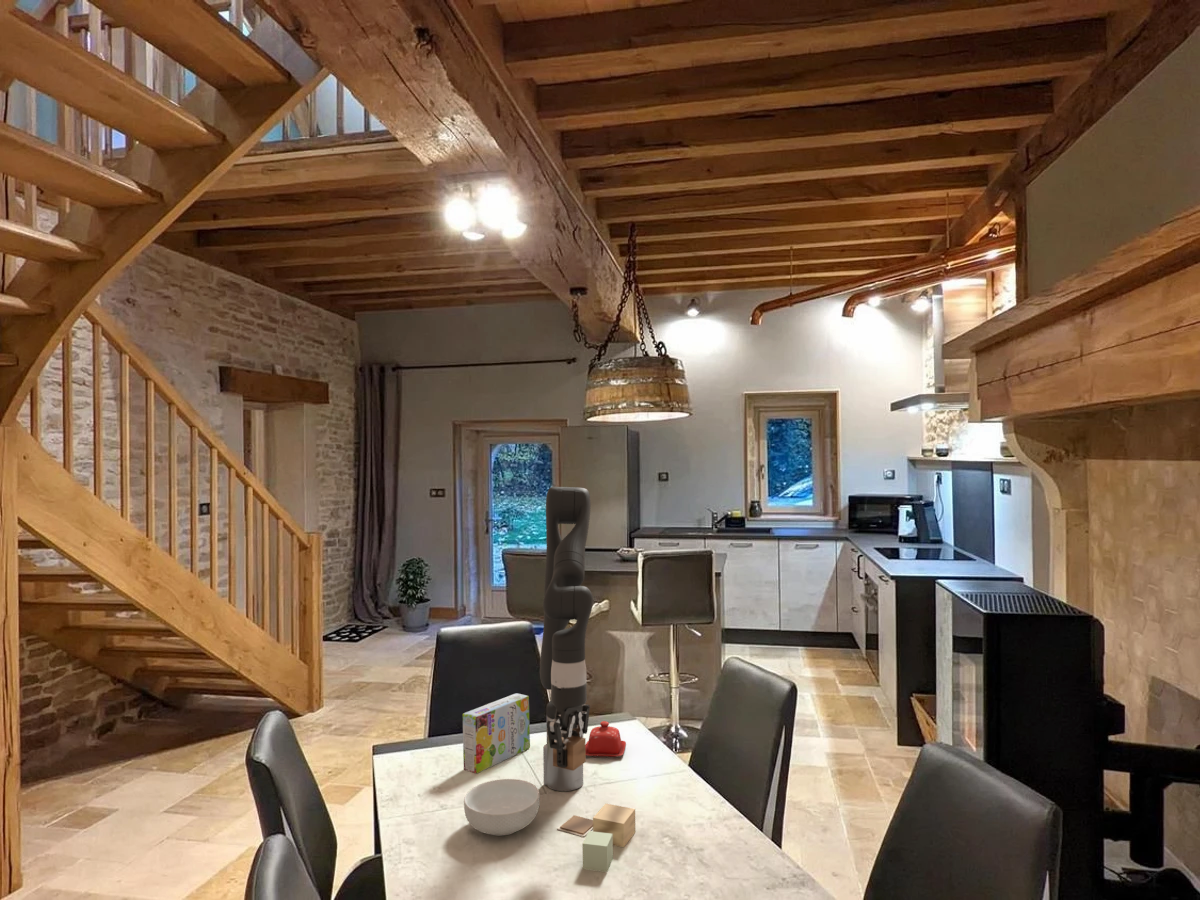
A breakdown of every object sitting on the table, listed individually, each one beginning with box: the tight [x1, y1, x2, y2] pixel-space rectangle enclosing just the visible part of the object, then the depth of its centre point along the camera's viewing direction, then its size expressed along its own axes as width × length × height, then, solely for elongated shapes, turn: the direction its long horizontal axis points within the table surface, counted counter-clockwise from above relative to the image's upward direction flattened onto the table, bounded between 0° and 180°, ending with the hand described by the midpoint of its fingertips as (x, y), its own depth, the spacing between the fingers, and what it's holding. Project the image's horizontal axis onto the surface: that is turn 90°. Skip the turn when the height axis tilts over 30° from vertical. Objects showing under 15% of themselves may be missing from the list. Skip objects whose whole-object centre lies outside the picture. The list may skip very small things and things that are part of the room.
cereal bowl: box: [463, 778, 540, 837], centre depth 154 cm, size 17×17×7 cm
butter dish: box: [585, 720, 627, 758], centre depth 196 cm, size 12×12×8 cm
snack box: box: [462, 692, 531, 774], centre depth 192 cm, size 21×6×15 cm, turn 144°
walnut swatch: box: [556, 814, 593, 838], centre depth 154 cm, size 7×7×1 cm
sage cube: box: [581, 830, 614, 873], centre depth 139 cm, size 5×5×5 cm
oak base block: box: [592, 803, 636, 848], centre depth 149 cm, size 7×7×5 cm
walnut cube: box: [553, 735, 587, 771], centre depth 147 cm, size 5×5×5 cm
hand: (569, 761), depth 147 cm, fingers closed on walnut cube, 5 cm apart
